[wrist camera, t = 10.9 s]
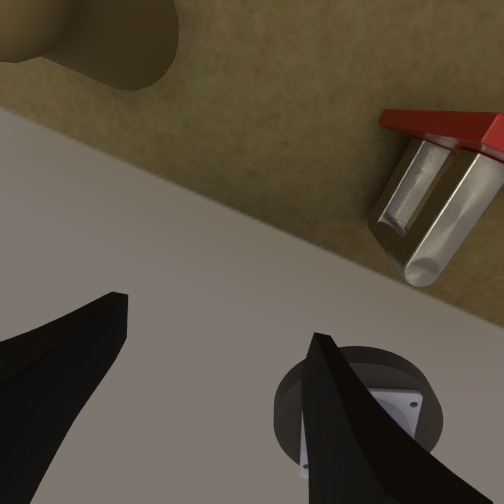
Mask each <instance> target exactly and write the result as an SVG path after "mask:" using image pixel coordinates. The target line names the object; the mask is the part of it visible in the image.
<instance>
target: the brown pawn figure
mask: <svg viewBox="0 0 504 504" xmlns="http://www.w3.org/2000/svg"><path fill="white" fill-rule="evenodd" d="M177 43H178V19H177V15H176V12H175V8H174V4H173V1H172V0H0V62H11V63H18V62H22V61H26V60H30V59H33V58H36V57H39V56H42V57H44V58H46V59H49V60H51V61H53V62H56V63H58V64H60V65H63V66H65V67H67V68H70V69H72V70H75V71H77V72H79V73H82V74H84V75H86V76H89V77H91V78H93V79H96V80H98V81H101V82H103V83H105V84H108V85H110V86H112V87H115V88H117V89H125V90H137V89H141V88H144V87H148V86H150V85H152V84H153V83H154V82H156V81H157V80H158V79H159V78H161V77H162V76H163V75H164V74H165V72H166V70H167V69H168V67H169V66H170V64H171V63H172V61H173V58H174V55H175V51H176V47H177Z"/></svg>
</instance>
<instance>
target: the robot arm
mask: <svg viewBox="0 0 504 504" xmlns="http://www.w3.org/2000/svg"><path fill="white" fill-rule="evenodd" d="M127 314H128V295H127V294H122V293H117V292H110V293H108V294H106V295H104V296H102V297H100V298H98V299H96V300H94V301H93V302H91V303H89V304H87V305H85V306H83V307H81V308H79V309H77V310H75V311H73V312H71V313H69V314H67V315H65V316H63V317H61V318H58V319H56V320H54V321H52V322H49V323H47V324H45V325H43V326H41V327H38V328H36V329H34V330H31V331H29V332H26V333H23V334H21V335H18V336H15V337H13V338H10V339H7V340H4V341H1V342H0V504H30V502H31V500H32V498H33V496H34V494H35V492H36V490H37V488H38V486H39V484H40V482H41V480H42V478H43V476H44V475H45V473H46V471H47V469H48V467H49V465H50V463H51V461H52V460H53V458H54V456H55V454H56V452H57V450H58V448H59V447H60V445H61V443H62V441H63V439H64V438H65V436H66V434H67V432H68V430H69V429H70V427H71V425H72V423H73V422H74V420H75V419H76V417H77V415H78V414H79V412H80V411H81V409H82V408H83V406H84V405H85V404H86V402H87V401H88V399H89V398H90V396H91V395H92V393H93V392H94V391H95V389H96V388H97V386H98V385H99V383H100V382H101V380H102V379H103V377H104V376H105V375H106V373H107V372H108V370H109V369H110V367H111V366H112V364H113V363H114V361H115V360H116V358H117V356H118V354H119V352H120V350H121V348H122V346H123V344H124V342H125V340H126V338H127ZM422 399H423V398H422V395H421V393H420V392H419V391H418V390H409V389H384V388H366V387H365V385H364V384H363V383H362V381H361V380H360V379H359V377H358V376H357V375H356V373H355V372H354V370H353V369H352V368H351V366H350V365H349V363H348V362H347V360H346V359H345V357H344V356H343V354H342V353H341V351H340V350H339V348H338V347H337V345H336V344H335V342H334V341H333V339H332V338H331V336H330V335H325V334H320V333H314V335H313V338H312V341H311V344H310V347H309V351H308V353H307V357H306V360H305V363H304V366H303V369H302V372H301V404H302V423H301V446H300V470H299V471H300V476H301V477H302V478H305V479H309V504H493V502H492V501H491V500H490V499H488V498H487V497H485V496H484V495H483V494H481V493H480V492H479V491H477V490H476V489H474V488H473V487H472V486H470V485H469V484H468V483H466V482H465V481H464V480H462V479H461V478H459V477H458V476H457V475H456V474H454V473H453V472H451V471H450V470H449V469H448V468H447V467H445V466H444V465H443V464H442V463H441V462H439V461H438V460H437V459H436V458H435V457H433V456H432V455H431V454H430V453H429V452H428V451H426V450H425V449H424V448H423V447H422V446H421V445H420V444H419V443H418V442H416V441H415V439H414V434H415V429H416V425H417V421H418V416H419V412H420V408H421V404H422ZM412 402H414V403H412Z"/></svg>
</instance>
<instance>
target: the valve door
mask: <svg viewBox="0 0 504 504" xmlns="http://www.w3.org/2000/svg"><path fill="white" fill-rule="evenodd" d="M379 124H380V125H382V126H384V127H387V128H389V129H391V130H394V131H396V132H399V133H401V134H403V135H406V136H408V137H411V138H413V139H412V141H411V143H410V144H409V146H408V148H407V150H406V152H405V153H404V155H403V157H402V159H401V161H400V163H399V164H398V166H397V168H396V170H395V172H394V173H393V175H392V177H391V179H390V181H389V182H388V184H387V186H386V188H385V190H384V192H383V193H382V195H381V197H380V199H379V201H378V202H377V204H376V206H375V208H374V210H373V211H372V213H371V215H370V217H369V219H368V222H367V225H368V229H369V230H370V232H371V233H372V235H373V236H374V237H375V239H376V240H377V242H378V243H379V245H380V246H381V247H382V249H383V250H384V252H385V253H386V254H387V256H388V257H389V259H390V260H391V262H392V263H393V264H394V266H395V267H396V269H397V270H398V271H399V273H400V274H401V276H402V277H403V279H404V280H405V281H406V282H407V283H408V284H409V285H411V286H414V287H425V286H428V285H430V284H432V283H433V282H435V281H436V280H437V279H438V277H439V276H440V274H441V273H442V271H443V270H444V268H445V267H446V266H447V264H448V263H449V261H450V260H451V258H452V257H453V256H454V254H455V253H456V251H457V250H458V248H459V247H460V246H461V244H462V243H463V241H464V240H465V238H466V237H467V236H468V234H469V233H470V231H471V230H472V228H473V227H474V226H475V224H476V223H477V221H478V220H479V218H480V217H481V216H482V214H483V213H484V211H485V210H486V208H487V207H488V206H489V204H490V203H491V201H492V200H493V198H494V197H495V196H496V194H497V193H498V191H499V190H500V188H501V187H502V186H503V184H504V114H501V113H489V112H455V111H422V110H388V109H386V110H385V112H384V114H383V116H382V118H381V120H380V122H379ZM449 154H451V155H454V157H453V158H452V160H451V162H450V163H449V165H448V166H447V168H446V170H445V171H444V173H443V175H442V176H441V178H440V180H439V181H438V183H437V184H436V186H435V188H434V189H433V191H432V193H431V194H430V196H429V197H428V199H427V201H426V202H425V204H424V206H423V207H422V209H421V210H420V212H419V214H418V215H417V217H416V219H415V220H414V222H413V223H412V225H411V227H410V228H409V230H407V229H406V228H405V226H406V224H407V223H408V221H409V220H410V218H411V216H412V215H413V213H414V211H415V210H416V208H417V206H418V205H419V203H420V201H421V200H422V198H423V196H424V195H425V193H426V192H427V190H428V188H429V187H430V185H431V183H432V182H433V180H434V178H435V177H436V175H437V173H438V172H439V170H440V168H441V167H442V165H443V164H444V162H445V160H446V159H447V157H448V155H449Z"/></svg>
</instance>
